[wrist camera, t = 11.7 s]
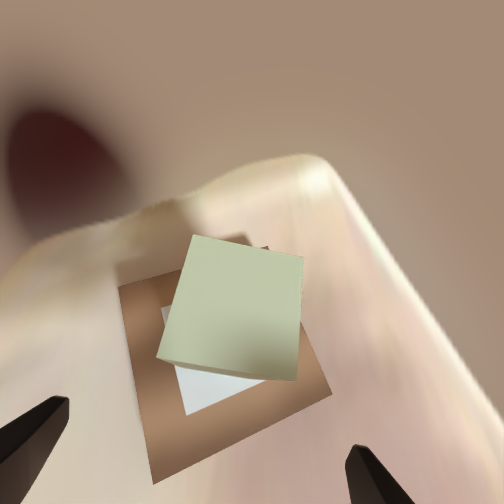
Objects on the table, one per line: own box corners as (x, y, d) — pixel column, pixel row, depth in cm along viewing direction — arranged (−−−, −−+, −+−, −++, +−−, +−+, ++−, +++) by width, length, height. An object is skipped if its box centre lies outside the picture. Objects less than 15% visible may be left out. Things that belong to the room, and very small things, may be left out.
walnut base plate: (315, 391, 20) (333, 394, 18) (161, 467, 17) (152, 485, 14) (260, 260, 25) (267, 245, 22) (128, 298, 21) (117, 286, 18)
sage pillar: (258, 312, 19) (303, 257, 10) (249, 379, 17) (296, 381, 8) (198, 301, 19) (192, 234, 10) (181, 368, 17) (155, 357, 8)
